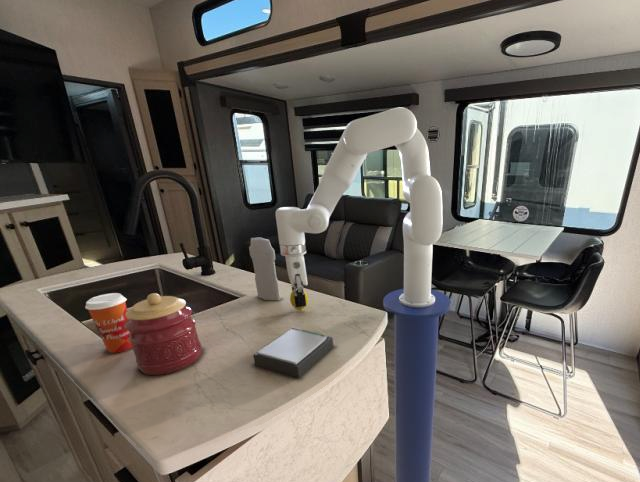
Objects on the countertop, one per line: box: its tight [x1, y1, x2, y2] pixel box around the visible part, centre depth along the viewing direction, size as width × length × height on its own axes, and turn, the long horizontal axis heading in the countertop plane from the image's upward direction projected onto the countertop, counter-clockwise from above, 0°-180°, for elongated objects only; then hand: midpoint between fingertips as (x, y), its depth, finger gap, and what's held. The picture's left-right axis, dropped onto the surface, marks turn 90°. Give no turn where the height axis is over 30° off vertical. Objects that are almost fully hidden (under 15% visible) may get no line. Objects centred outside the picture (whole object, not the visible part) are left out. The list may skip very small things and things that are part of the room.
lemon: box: [289, 288, 309, 311], centre depth 103 cm, size 6×6×8 cm
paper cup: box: [85, 292, 133, 354], centre depth 81 cm, size 8×8×14 cm
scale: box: [252, 327, 334, 379], centre depth 79 cm, size 14×13×4 cm
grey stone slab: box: [248, 237, 281, 301], centre depth 110 cm, size 11×4×22 cm, turn 69°
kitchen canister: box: [124, 292, 202, 376], centre depth 75 cm, size 13×13×18 cm
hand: (299, 301), depth 103 cm, fingers open, 6 cm apart
